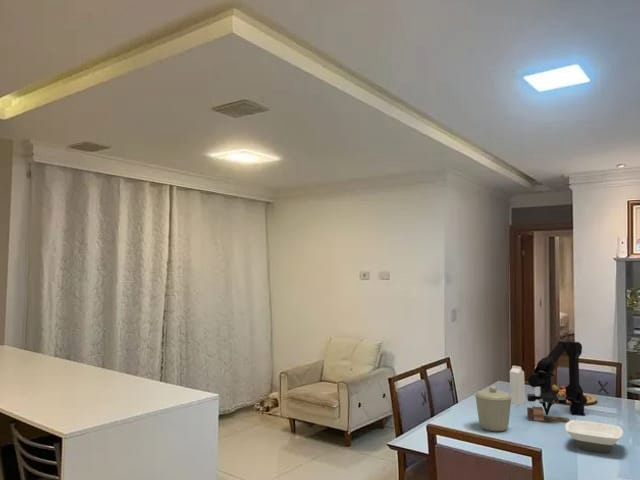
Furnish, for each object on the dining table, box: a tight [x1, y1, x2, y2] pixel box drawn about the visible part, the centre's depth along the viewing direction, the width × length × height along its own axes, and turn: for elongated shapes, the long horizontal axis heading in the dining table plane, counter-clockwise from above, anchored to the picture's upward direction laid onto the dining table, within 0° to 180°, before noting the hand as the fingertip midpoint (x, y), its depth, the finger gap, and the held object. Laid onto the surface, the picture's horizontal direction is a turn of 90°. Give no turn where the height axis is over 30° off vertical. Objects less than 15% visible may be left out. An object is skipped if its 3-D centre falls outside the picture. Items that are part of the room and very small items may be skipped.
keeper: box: [531, 405, 545, 422], centre depth 270 cm, size 5×7×6 cm
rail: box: [526, 406, 571, 424], centre depth 268 cm, size 20×7×5 cm, turn 73°
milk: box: [509, 365, 526, 406], centre depth 303 cm, size 6×6×22 cm
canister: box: [473, 385, 512, 432], centre depth 254 cm, size 18×18×21 cm
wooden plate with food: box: [552, 384, 598, 406], centre depth 313 cm, size 32×32×8 cm
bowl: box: [564, 419, 624, 454], centre depth 226 cm, size 22×23×8 cm
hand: (546, 415), depth 268 cm, fingers closed
